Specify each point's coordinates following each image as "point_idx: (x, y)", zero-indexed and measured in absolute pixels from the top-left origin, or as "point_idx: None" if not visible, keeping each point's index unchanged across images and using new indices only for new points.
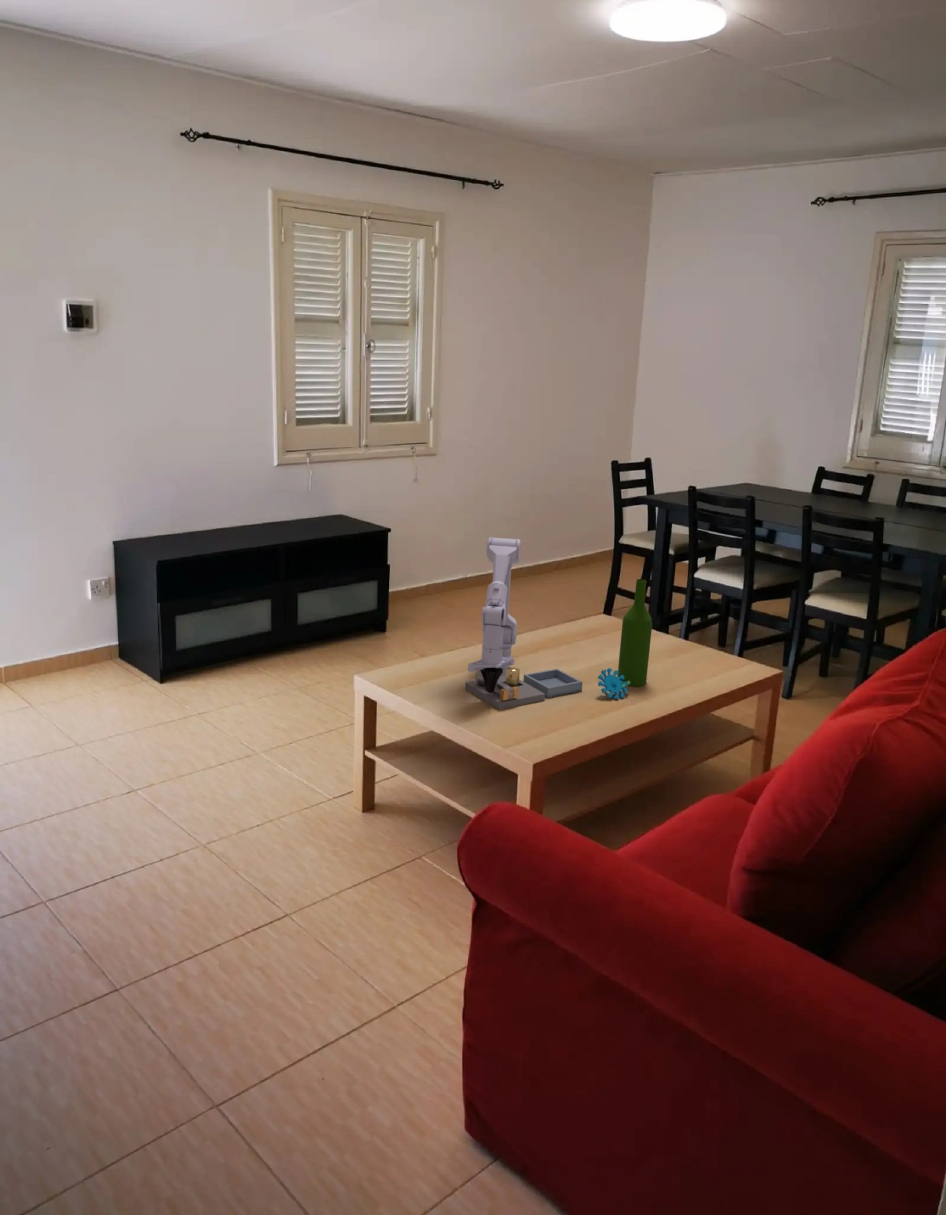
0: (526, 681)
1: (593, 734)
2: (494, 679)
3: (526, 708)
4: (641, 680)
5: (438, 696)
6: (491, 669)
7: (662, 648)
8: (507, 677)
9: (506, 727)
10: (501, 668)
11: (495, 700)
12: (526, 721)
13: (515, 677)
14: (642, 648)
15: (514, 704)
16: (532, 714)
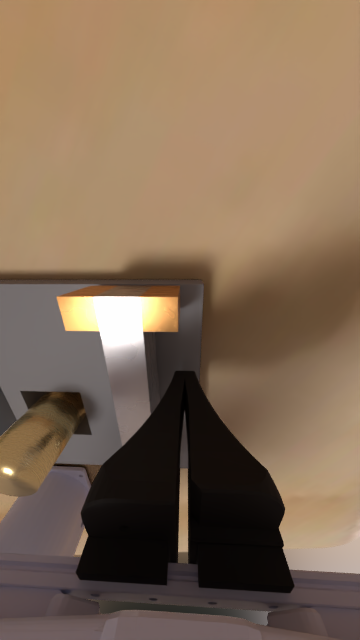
0: (3, 414)
1: None
2: (179, 421)
3: (87, 238)
4: None
5: (295, 437)
6: (204, 540)
7: None
8: (61, 441)
9: (321, 24)
10: (87, 525)
11: (201, 315)
12: (163, 64)
13: (26, 428)
14: None
15: (123, 280)
16: (89, 154)
